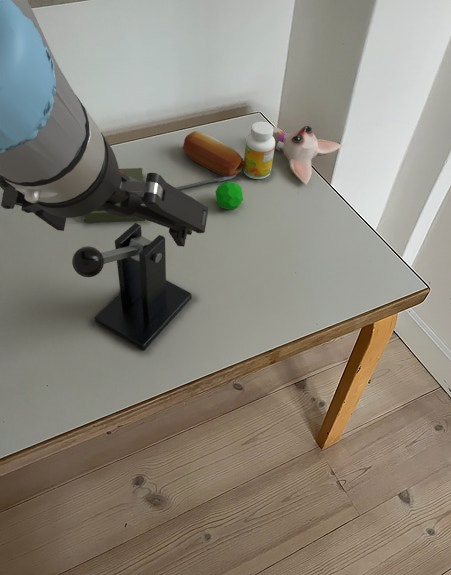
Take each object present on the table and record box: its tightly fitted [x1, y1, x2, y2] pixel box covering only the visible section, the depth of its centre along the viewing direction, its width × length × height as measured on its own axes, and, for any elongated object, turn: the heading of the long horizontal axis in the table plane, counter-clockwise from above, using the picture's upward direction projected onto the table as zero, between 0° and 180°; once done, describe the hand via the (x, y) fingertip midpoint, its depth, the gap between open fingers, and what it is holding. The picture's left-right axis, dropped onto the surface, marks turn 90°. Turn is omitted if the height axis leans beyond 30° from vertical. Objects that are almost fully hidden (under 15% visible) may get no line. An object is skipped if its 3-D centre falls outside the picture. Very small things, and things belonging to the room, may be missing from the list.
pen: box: [175, 174, 238, 191], centre depth 107 cm, size 1×1×14 cm
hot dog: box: [182, 130, 245, 177], centre depth 110 cm, size 5×13×5 cm
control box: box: [84, 167, 146, 224], centre depth 101 cm, size 12×10×4 cm
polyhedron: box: [215, 180, 244, 211], centre depth 102 cm, size 5×5×5 cm
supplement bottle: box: [242, 121, 276, 180], centre depth 107 cm, size 5×5×10 cm
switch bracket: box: [94, 222, 193, 351], centre depth 81 cm, size 12×9×15 cm
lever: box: [71, 236, 153, 278], centre depth 72 cm, size 14×4×4 cm, turn 148°
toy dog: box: [272, 125, 344, 186], centre depth 112 cm, size 15×8×15 cm
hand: (122, 226), depth 64 cm, fingers open, 13 cm apart
